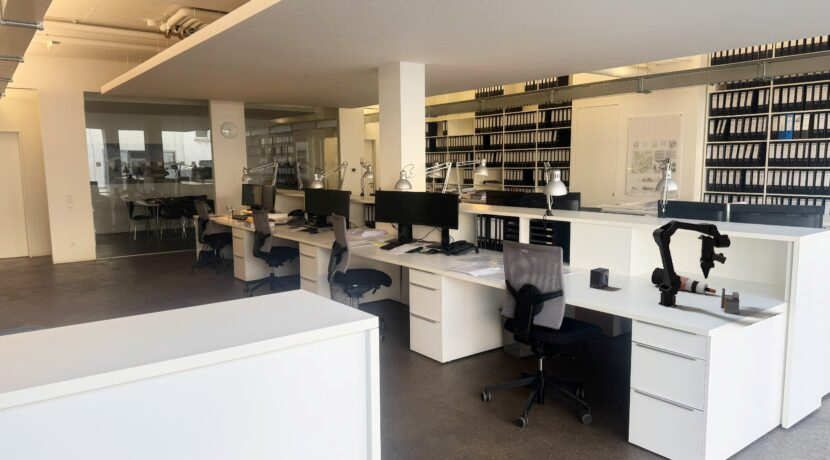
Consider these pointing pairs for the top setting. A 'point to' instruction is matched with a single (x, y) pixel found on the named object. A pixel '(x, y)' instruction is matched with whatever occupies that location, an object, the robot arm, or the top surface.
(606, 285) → the small box
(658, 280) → the striped tapered cylinder
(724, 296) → the plug
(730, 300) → the housing
